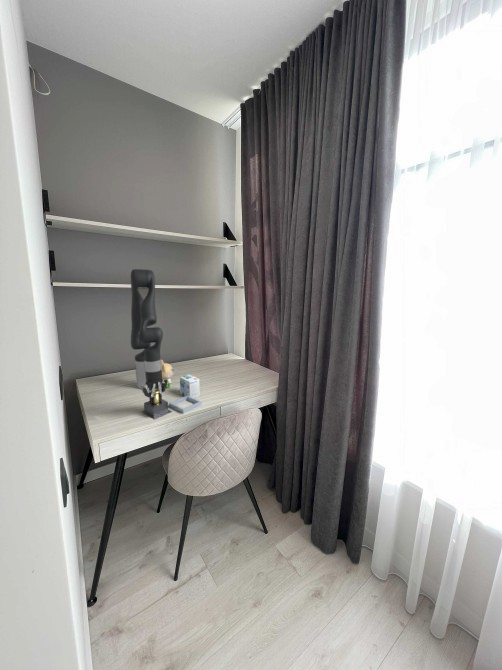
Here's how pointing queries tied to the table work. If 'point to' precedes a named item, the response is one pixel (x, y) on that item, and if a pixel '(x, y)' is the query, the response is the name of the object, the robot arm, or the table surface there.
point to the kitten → (167, 372)
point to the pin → (156, 397)
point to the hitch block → (156, 409)
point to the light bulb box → (189, 386)
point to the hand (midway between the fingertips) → (155, 402)
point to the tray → (197, 404)
